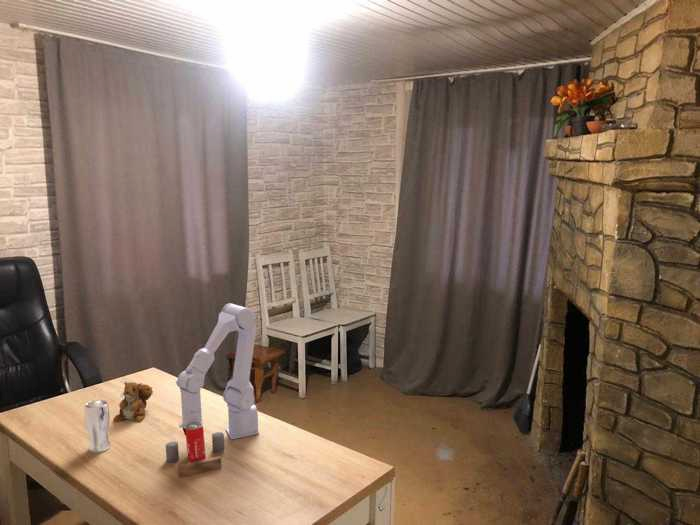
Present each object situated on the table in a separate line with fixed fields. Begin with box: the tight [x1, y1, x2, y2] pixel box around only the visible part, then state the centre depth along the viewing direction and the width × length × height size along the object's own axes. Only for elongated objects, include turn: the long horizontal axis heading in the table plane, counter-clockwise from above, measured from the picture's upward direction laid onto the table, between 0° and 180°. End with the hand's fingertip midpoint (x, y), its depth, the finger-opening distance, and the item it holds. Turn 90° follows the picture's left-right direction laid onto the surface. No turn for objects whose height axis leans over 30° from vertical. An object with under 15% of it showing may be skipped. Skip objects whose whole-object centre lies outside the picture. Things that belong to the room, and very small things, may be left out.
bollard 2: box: [211, 431, 225, 453], centre depth 172 cm, size 4×4×5 cm
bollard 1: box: [165, 441, 180, 464], centre depth 166 cm, size 4×4×5 cm
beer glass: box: [84, 399, 111, 454], centre depth 172 cm, size 7×7×15 cm
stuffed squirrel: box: [112, 381, 154, 423], centre depth 195 cm, size 10×14×13 cm
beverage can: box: [185, 422, 207, 463], centre depth 164 cm, size 5×5×12 cm
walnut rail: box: [177, 455, 222, 478], centre depth 160 cm, size 12×2×3 cm, turn 116°
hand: (193, 449), depth 170 cm, fingers closed
